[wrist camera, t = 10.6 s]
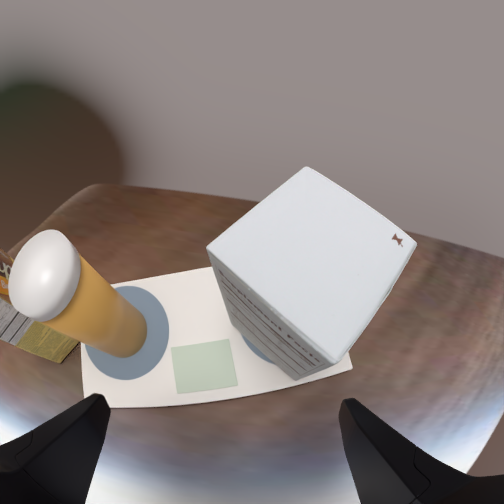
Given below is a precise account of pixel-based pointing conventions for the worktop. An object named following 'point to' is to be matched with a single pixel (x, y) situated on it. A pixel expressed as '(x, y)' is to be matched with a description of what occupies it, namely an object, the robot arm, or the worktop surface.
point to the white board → (185, 350)
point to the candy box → (28, 325)
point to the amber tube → (73, 297)
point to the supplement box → (307, 271)
